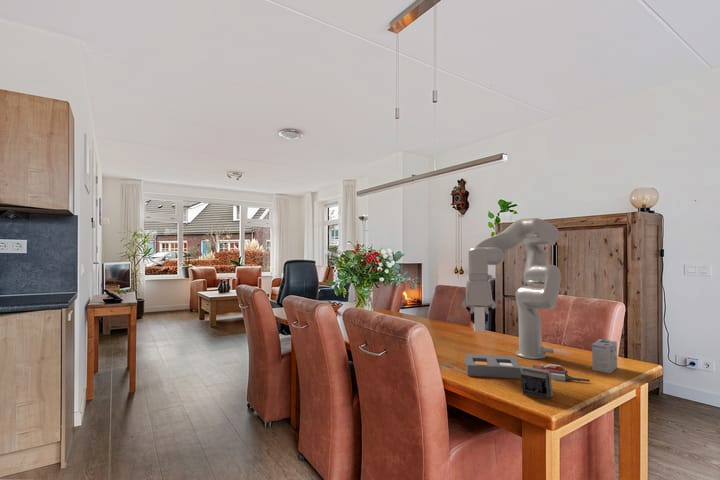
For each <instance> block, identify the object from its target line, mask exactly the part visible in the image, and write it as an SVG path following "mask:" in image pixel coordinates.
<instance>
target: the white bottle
mask: <svg viewBox="0 0 720 480" xmlns="http://www.w3.org/2000/svg"><path fill="white" fill-rule="evenodd" d="M473 312H474V324H473V330H474V332H475V333H476V332H477V333H486V324H485V307H484V306H474V310H473Z"/></svg>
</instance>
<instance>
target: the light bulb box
mask: <svg viewBox="0 0 720 480" xmlns="http://www.w3.org/2000/svg"><path fill="white" fill-rule="evenodd" d="M617 346H618V343H617V341H616V340H606V339H599V338H598V339H597V340H596V341H594V342H593V343H592V344H591V357H592V358H591V361H592V366H591V367H592V371H597V372H602V373H606V374H612V373H613V372H614V371H615V370H616V369H617V368H618V350H617V348H618V347H617Z"/></svg>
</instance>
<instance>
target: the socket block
mask: <svg viewBox="0 0 720 480" xmlns="http://www.w3.org/2000/svg"><path fill="white" fill-rule="evenodd" d="M464 365H465V369H466V374H467V376H469V377H486V378H487V377H488V378H503V379H517V380H518V379H520V380H521V371H520V368H521V367H522V365H521V364H520V362H519V361H518V360H517V358H516V356H513V355H512V356H511V355H494V354H493V355H491V354H473V353H472V354H471V353H465V354H464Z"/></svg>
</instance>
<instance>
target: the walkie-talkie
mask: <svg viewBox="0 0 720 480" xmlns="http://www.w3.org/2000/svg"><path fill="white" fill-rule="evenodd" d="M532 368H536V369H541V370H547V371H549V372H550V373H551V380H553V381H562V382H566V381H576V382H591V379H589V378H582V377H581V378H579V377H573V376H568V370H566V368H565V367H563V366H562V365H560V364H554V363H553V364H552V363H548V364H547V365H544V364H543V363H541V364H540V365H539V364H538V365H537V364H532Z"/></svg>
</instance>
